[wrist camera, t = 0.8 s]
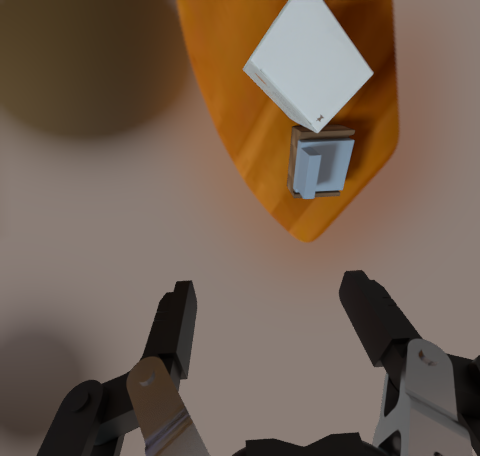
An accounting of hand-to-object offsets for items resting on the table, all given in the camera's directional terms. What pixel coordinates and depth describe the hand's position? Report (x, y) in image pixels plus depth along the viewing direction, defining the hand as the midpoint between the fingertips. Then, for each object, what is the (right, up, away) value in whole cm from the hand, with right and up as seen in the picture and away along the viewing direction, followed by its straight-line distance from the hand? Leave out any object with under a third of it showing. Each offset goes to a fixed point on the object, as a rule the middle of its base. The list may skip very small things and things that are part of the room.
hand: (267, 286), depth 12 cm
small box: (+3, +21, +13) cm, 25 cm away
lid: (+8, +11, +16) cm, 21 cm away
